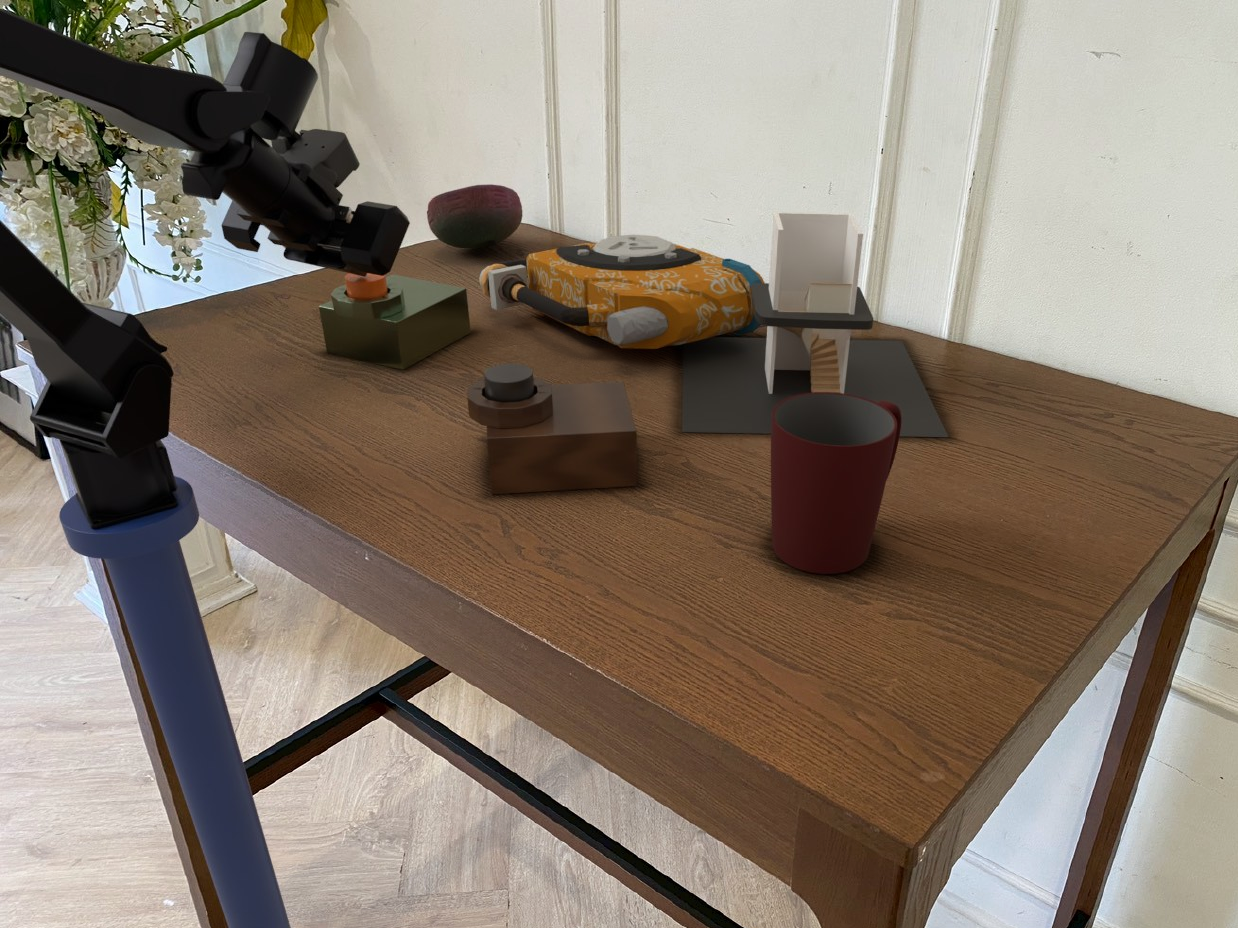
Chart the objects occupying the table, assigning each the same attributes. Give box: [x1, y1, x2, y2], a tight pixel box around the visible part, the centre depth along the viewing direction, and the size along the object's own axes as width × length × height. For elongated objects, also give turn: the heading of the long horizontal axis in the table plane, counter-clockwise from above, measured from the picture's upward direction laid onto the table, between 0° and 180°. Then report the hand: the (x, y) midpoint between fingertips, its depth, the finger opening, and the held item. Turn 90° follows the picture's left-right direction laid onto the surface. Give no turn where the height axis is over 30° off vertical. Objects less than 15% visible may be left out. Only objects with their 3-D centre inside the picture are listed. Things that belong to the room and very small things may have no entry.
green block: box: [318, 274, 472, 371], centre depth 108 cm, size 13×10×7 cm
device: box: [478, 234, 766, 350], centre depth 114 cm, size 23×8×30 cm
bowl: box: [426, 183, 523, 249], centre depth 137 cm, size 16×13×8 cm
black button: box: [483, 362, 534, 403], centre depth 84 cm, size 4×4×2 cm
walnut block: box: [466, 375, 638, 495], centre depth 86 cm, size 14×10×7 cm
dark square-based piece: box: [681, 211, 950, 438], centre depth 100 cm, size 25×24×16 cm
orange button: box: [344, 273, 388, 299], centre depth 104 cm, size 4×4×2 cm
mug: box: [770, 392, 902, 575], centre depth 76 cm, size 12×9×11 cm
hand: (364, 271), depth 103 cm, fingers closed
